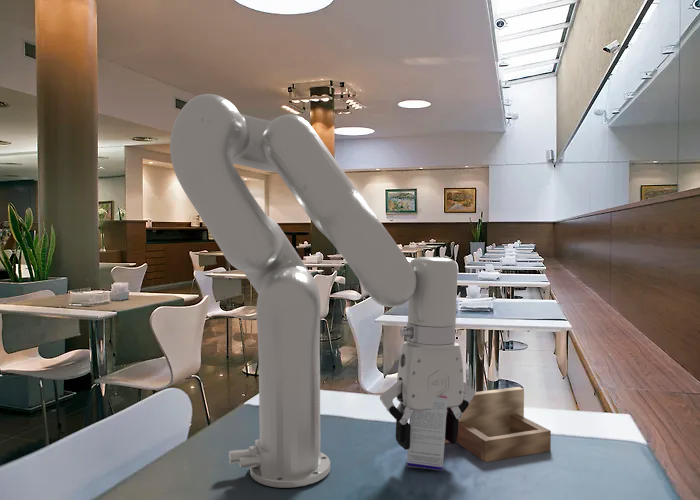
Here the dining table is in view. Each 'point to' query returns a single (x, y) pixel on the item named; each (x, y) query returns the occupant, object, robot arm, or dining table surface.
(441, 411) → the supplement box
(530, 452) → the wooden tray holder
